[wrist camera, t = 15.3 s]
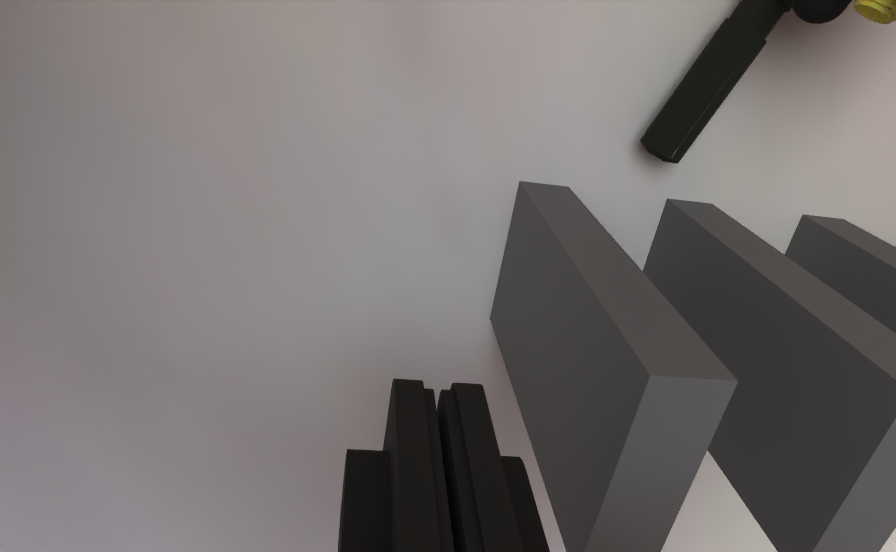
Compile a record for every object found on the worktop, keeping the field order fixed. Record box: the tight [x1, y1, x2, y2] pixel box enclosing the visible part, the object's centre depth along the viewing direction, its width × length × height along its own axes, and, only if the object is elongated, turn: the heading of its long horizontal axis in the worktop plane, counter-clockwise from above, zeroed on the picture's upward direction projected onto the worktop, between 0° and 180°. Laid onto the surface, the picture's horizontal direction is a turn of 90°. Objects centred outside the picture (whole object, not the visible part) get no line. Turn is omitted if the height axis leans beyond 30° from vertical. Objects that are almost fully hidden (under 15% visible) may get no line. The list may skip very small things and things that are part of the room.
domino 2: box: [643, 199, 896, 552], centre depth 16 cm, size 2×5×10 cm, turn 171°
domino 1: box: [490, 181, 738, 552], centre depth 15 cm, size 2×5×10 cm, turn 172°
